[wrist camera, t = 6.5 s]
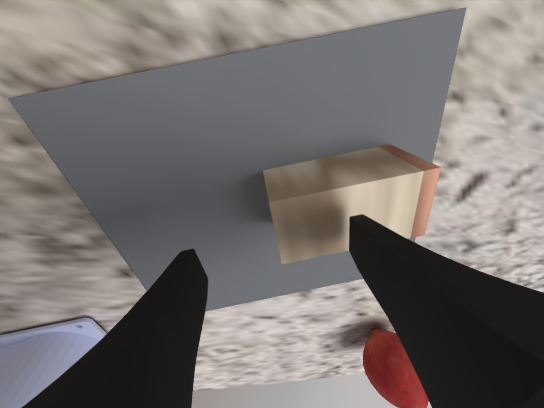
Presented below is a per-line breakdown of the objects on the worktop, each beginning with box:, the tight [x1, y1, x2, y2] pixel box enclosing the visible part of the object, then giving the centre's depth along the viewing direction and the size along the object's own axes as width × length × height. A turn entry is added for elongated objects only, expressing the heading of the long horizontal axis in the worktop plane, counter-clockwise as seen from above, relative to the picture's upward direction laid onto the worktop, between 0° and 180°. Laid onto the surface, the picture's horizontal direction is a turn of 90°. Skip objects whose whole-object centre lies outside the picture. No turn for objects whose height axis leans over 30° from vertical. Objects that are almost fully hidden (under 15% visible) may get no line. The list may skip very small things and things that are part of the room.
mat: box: [8, 8, 466, 311], centre depth 15 cm, size 22×18×1 cm
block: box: [263, 144, 441, 264], centre depth 13 cm, size 4×4×8 cm
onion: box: [363, 328, 429, 408], centre depth 22 cm, size 6×6×8 cm
